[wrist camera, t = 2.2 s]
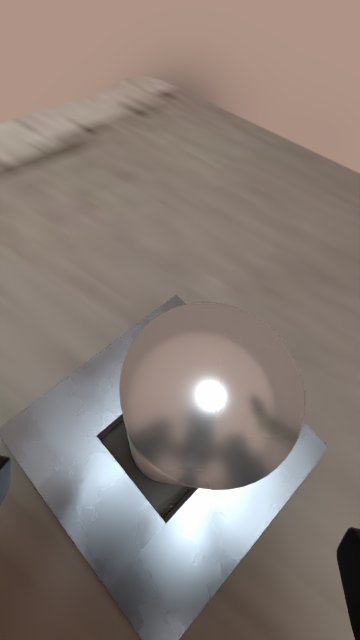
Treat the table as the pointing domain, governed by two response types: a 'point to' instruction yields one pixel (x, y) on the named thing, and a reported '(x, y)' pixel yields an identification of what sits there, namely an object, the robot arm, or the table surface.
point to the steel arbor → (210, 398)
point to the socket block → (141, 499)
